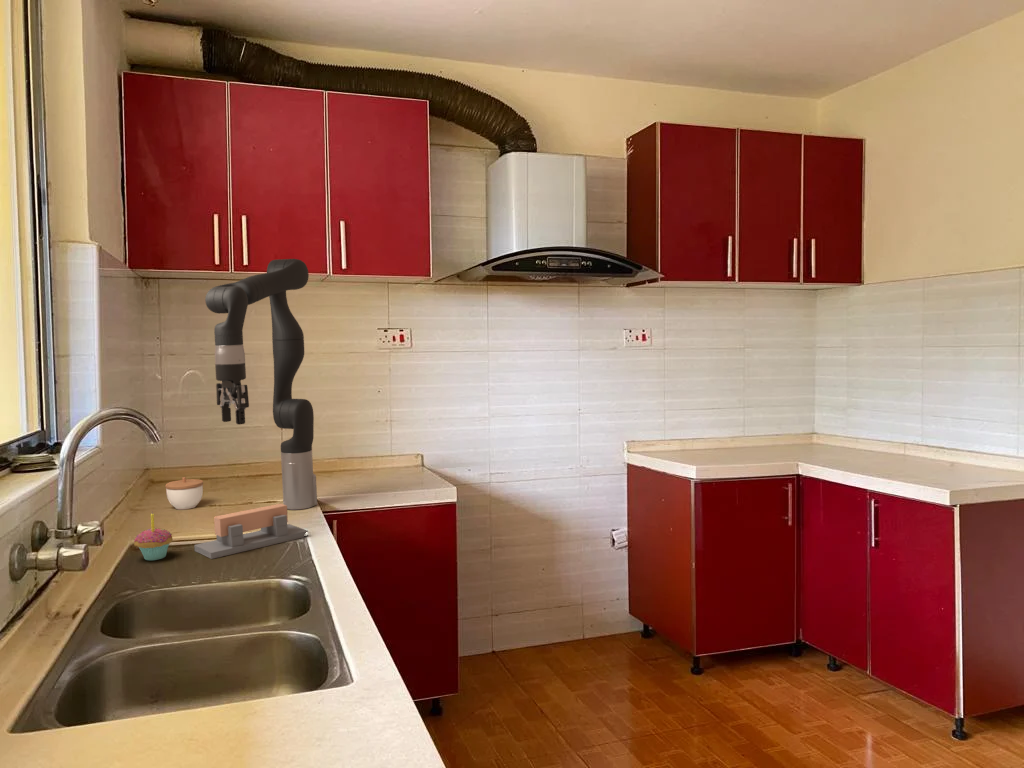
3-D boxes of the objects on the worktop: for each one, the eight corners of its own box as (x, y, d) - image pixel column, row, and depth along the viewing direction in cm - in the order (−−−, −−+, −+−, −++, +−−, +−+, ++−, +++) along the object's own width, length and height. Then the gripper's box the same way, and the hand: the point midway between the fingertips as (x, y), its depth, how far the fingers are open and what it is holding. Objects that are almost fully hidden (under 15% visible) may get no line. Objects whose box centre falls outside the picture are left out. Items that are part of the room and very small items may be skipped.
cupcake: (175, 559, 188) (172, 510, 187) (136, 565, 184) (133, 515, 183) (171, 550, 196) (168, 503, 195) (134, 556, 192) (130, 508, 191)
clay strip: (281, 520, 207) (280, 503, 207) (287, 522, 205) (286, 505, 204) (215, 534, 195) (213, 516, 195) (220, 536, 192) (219, 519, 192)
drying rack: (289, 529, 213) (288, 506, 212) (308, 536, 206) (307, 512, 205) (194, 550, 195) (193, 525, 194) (211, 559, 188) (209, 532, 187)
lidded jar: (210, 506, 242) (208, 476, 241) (175, 513, 234) (173, 482, 233) (195, 501, 249) (194, 472, 249) (161, 507, 242) (159, 478, 241)
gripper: (255, 362, 204) (259, 423, 205) (232, 360, 214) (235, 419, 215) (228, 363, 199) (231, 426, 200) (205, 362, 209) (208, 422, 210)
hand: (233, 422), depth 208 cm, fingers open, 8 cm apart
